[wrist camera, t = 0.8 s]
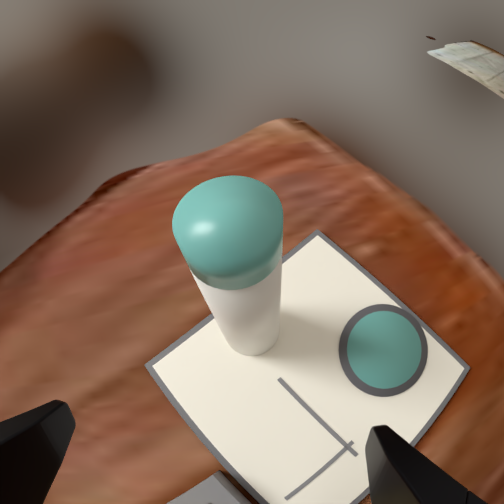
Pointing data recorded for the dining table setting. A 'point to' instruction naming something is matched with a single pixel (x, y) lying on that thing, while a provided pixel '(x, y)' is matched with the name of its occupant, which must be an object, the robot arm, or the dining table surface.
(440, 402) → the drawing board
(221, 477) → the button housing
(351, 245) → the dining table surface
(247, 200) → the marker
